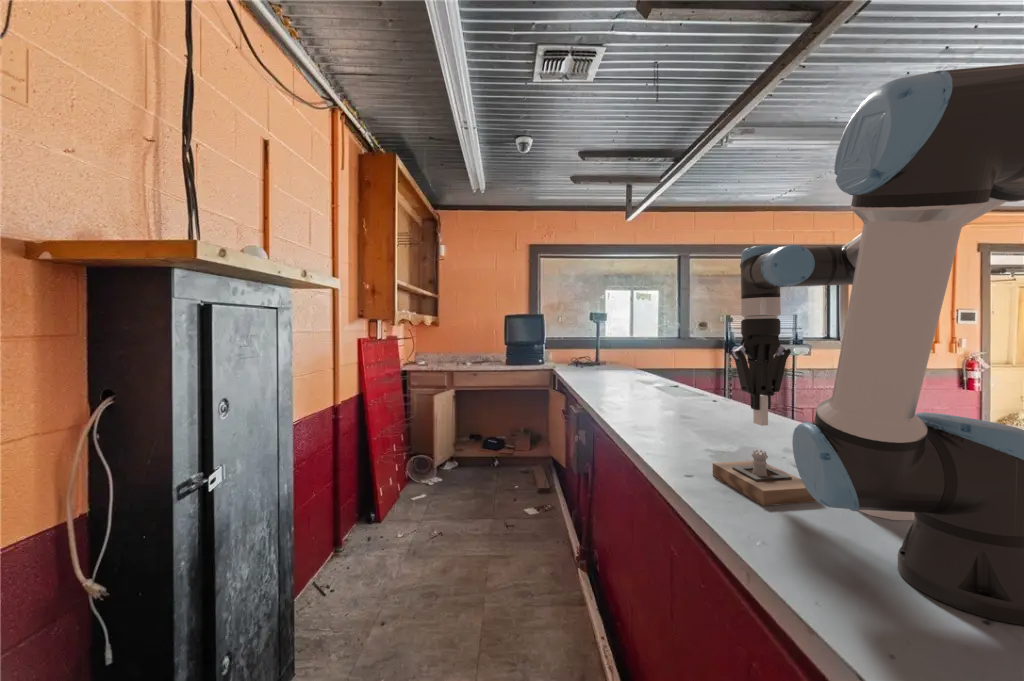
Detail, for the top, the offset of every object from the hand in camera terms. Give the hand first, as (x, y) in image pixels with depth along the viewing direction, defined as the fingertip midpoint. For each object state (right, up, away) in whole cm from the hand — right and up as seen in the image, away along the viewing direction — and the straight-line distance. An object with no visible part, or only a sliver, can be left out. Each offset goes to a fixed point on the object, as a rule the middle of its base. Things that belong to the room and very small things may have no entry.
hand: (760, 423), depth 95 cm
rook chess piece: (0, -14, +1) cm, 14 cm away
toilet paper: (+17, -15, -12) cm, 25 cm away
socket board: (0, -14, 0) cm, 14 cm away
